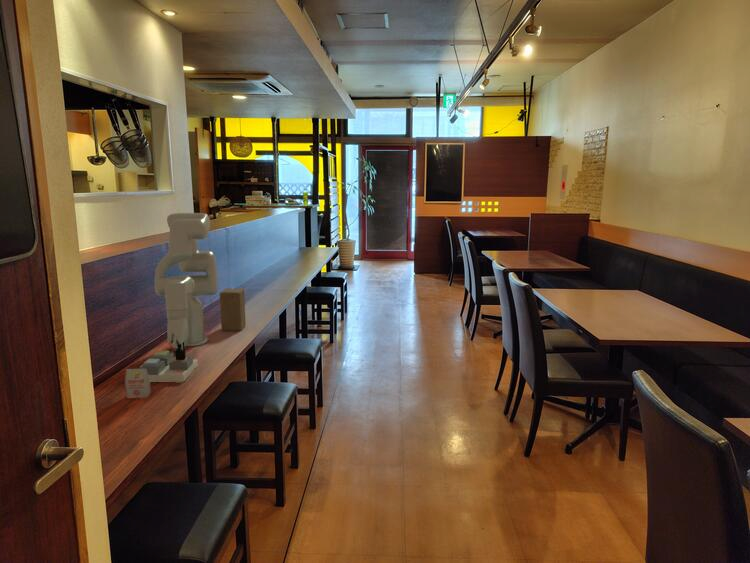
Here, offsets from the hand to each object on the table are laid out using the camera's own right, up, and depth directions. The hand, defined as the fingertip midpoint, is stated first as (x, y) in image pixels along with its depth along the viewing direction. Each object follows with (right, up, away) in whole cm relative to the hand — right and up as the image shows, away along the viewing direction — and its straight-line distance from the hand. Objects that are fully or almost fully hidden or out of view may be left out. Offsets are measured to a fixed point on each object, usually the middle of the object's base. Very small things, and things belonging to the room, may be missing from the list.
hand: (180, 359), depth 183 cm
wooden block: (+2, +6, +61) cm, 61 cm away
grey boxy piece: (-7, -10, -18) cm, 22 cm away
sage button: (-9, 0, +4) cm, 10 cm away
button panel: (-5, -6, +1) cm, 8 cm away
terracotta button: (0, -2, +1) cm, 2 cm away
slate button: (-9, -2, -4) cm, 10 cm away
